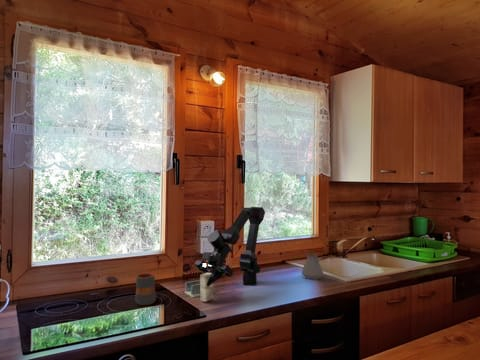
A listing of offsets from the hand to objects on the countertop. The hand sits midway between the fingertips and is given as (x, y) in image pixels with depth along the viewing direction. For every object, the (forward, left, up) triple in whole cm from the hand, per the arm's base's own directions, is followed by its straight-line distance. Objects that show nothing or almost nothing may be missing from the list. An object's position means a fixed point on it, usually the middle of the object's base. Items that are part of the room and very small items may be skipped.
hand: (204, 284), depth 164 cm
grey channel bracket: (+6, -12, -8) cm, 16 cm away
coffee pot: (-50, -43, -8) cm, 67 cm away
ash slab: (-1, -1, -7) cm, 7 cm away
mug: (+26, +3, -8) cm, 28 cm away
